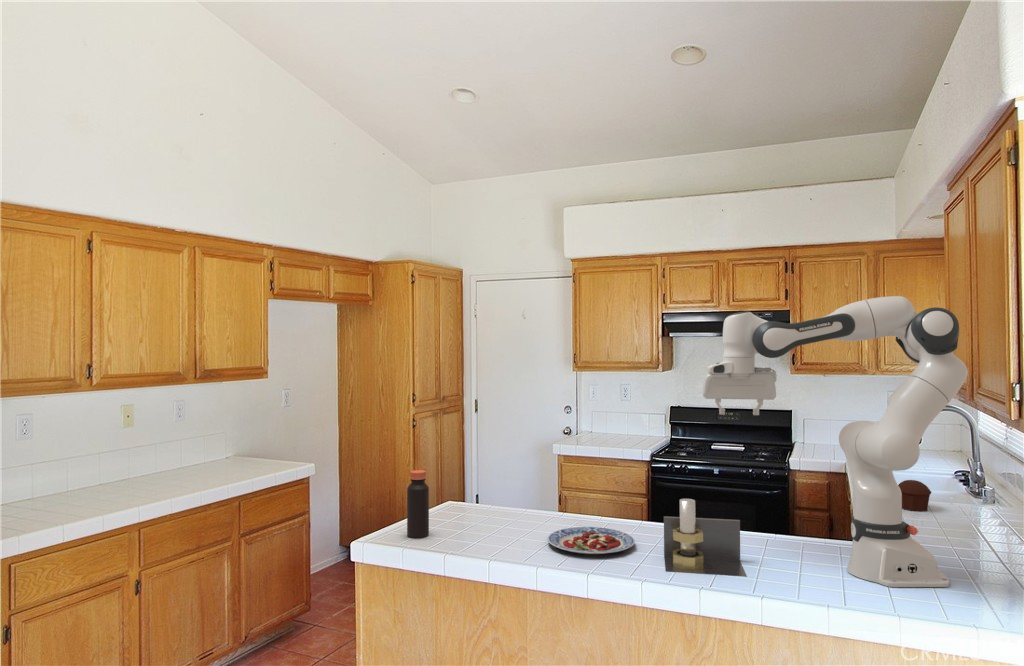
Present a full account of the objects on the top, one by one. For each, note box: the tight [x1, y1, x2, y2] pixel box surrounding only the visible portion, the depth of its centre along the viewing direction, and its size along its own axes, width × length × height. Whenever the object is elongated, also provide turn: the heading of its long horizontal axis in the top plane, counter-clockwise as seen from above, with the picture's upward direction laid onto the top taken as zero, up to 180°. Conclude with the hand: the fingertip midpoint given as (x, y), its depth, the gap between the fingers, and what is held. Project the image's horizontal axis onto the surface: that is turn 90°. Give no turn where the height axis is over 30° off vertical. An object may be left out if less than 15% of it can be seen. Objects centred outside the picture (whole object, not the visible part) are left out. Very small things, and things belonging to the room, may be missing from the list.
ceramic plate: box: [546, 526, 636, 556], centre depth 196 cm, size 26×26×3 cm
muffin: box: [898, 479, 932, 513], centre depth 238 cm, size 12×11×10 cm
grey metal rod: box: [679, 498, 696, 557], centre depth 175 cm, size 4×4×17 cm
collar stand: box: [663, 515, 748, 578], centre depth 174 cm, size 20×13×12 cm, turn 79°
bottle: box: [406, 469, 430, 539], centre depth 207 cm, size 7×7×20 cm
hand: (739, 414), depth 192 cm, fingers open, 8 cm apart
